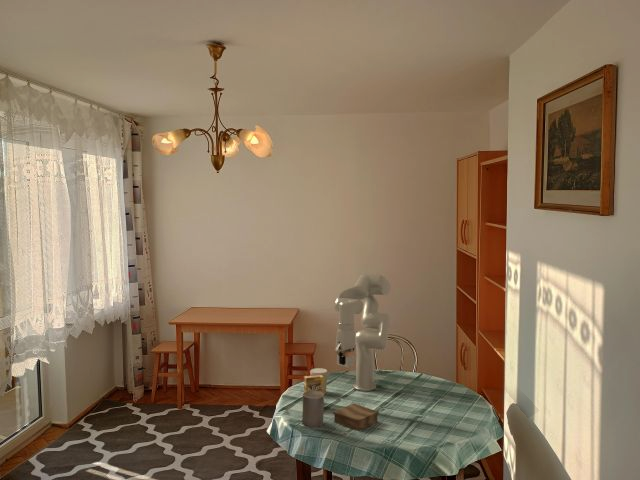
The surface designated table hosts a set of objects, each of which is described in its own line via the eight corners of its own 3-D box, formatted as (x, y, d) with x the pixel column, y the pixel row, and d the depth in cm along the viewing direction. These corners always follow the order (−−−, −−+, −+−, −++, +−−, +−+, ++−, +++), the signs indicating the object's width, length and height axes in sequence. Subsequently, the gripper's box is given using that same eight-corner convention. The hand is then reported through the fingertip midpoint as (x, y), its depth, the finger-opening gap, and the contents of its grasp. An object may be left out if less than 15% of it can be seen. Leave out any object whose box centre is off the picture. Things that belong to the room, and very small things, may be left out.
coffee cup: (330, 392, 310) (331, 369, 309) (321, 396, 302) (321, 374, 301) (316, 388, 314) (316, 367, 314) (306, 393, 307) (306, 371, 306)
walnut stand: (353, 413, 278) (353, 403, 278) (378, 422, 268) (378, 411, 268) (332, 422, 267) (333, 411, 267) (358, 431, 257) (358, 420, 257)
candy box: (305, 408, 284) (306, 378, 283) (303, 405, 288) (303, 375, 287) (322, 407, 287) (323, 376, 286) (320, 404, 291) (320, 374, 290)
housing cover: (343, 352, 289) (343, 347, 289) (354, 355, 284) (354, 350, 284) (337, 354, 286) (337, 349, 286) (348, 357, 281) (348, 352, 281)
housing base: (343, 362, 290) (343, 352, 289) (354, 365, 285) (354, 355, 285) (336, 364, 286) (337, 354, 286) (347, 367, 281) (347, 357, 281)
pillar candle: (299, 421, 268) (299, 389, 267) (318, 418, 272) (319, 386, 271) (307, 429, 259) (307, 396, 258) (327, 425, 263) (327, 393, 262)
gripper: (351, 322, 293) (350, 358, 294) (328, 328, 280) (328, 365, 282) (363, 325, 288) (362, 361, 289) (340, 330, 275) (340, 368, 277)
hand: (345, 362), depth 285 cm, fingers closed on housing base, 5 cm apart
